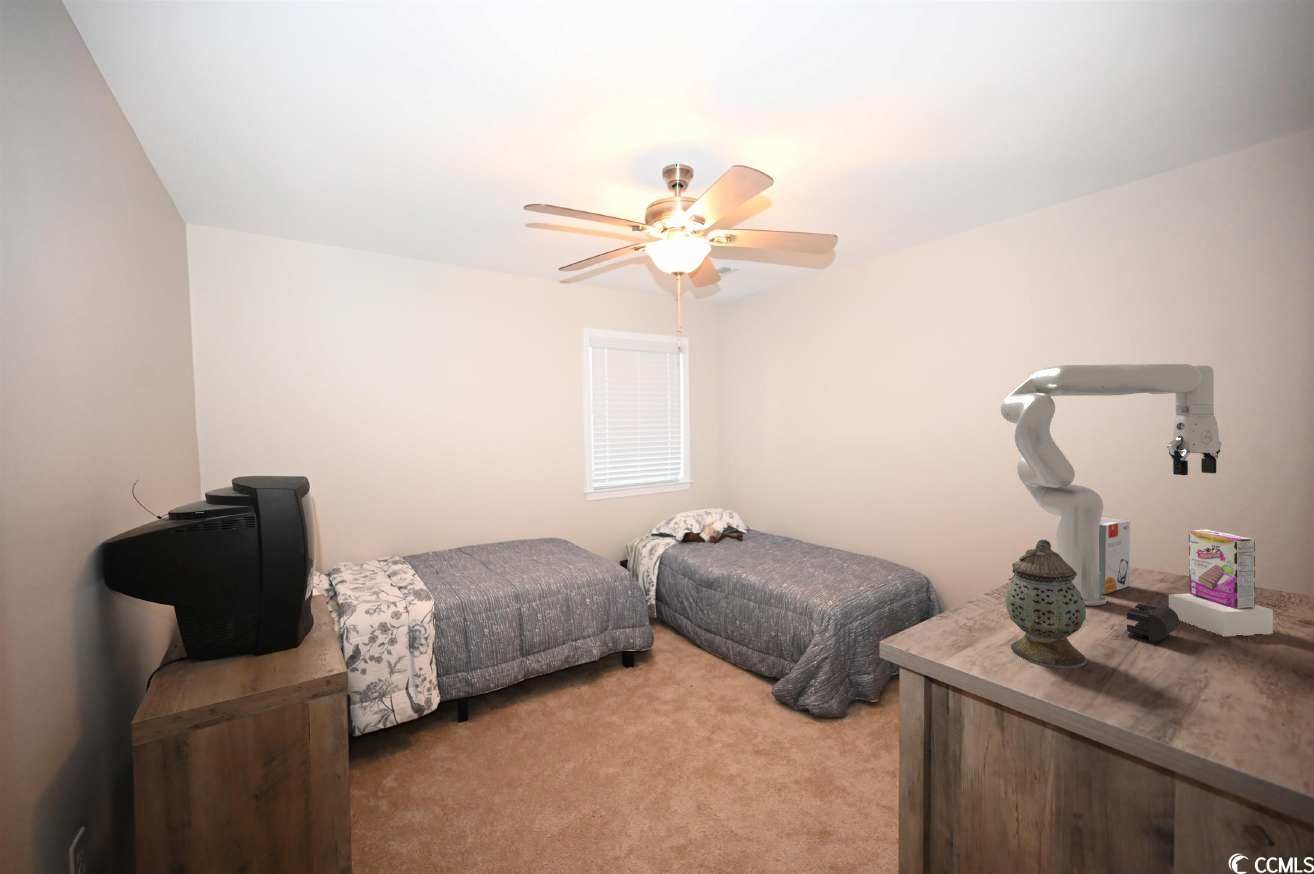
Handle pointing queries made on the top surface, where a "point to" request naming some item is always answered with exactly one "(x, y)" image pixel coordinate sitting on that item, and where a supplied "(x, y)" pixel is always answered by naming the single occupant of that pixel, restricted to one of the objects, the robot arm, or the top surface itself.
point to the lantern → (1045, 608)
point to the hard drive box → (1113, 554)
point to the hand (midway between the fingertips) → (1194, 473)
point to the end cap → (1151, 622)
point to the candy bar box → (1222, 568)
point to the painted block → (1221, 616)
